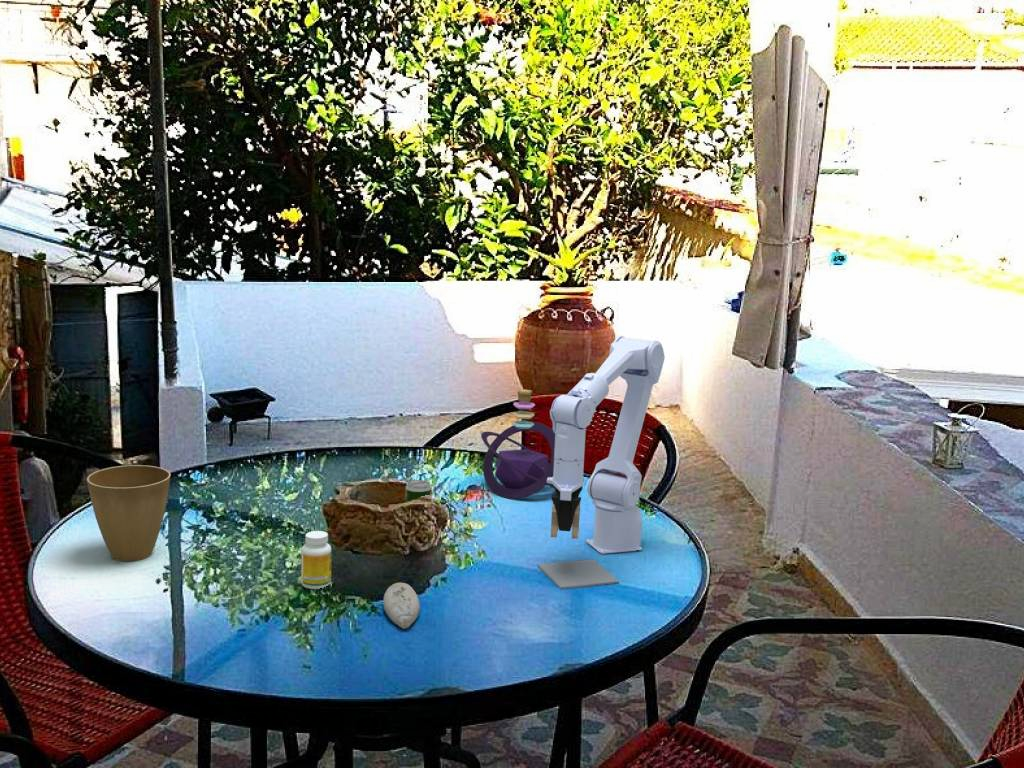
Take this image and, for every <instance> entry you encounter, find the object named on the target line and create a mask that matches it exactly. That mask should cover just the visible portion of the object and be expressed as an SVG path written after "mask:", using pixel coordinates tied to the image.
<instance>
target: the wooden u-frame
mask: <svg viewBox="0 0 1024 768" xmlns="http://www.w3.org/2000/svg"><path fill="white" fill-rule="evenodd" d="M551 505H552V506H551V519H550V520H551V521H550V522H551V523H550V538H558V531H559V527H558V520H557V513H556V509H555V506H554V503H553V502H552V504H551ZM580 514H581V502H580V503H579V505H578V506H577V508H576V511H575V514H574V518H573V523H572V527H571V538H570V539H572V540H574V539H576V540H578V539H579V532H580V531H579V530H580Z"/></svg>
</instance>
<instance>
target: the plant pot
mask: <svg viewBox="0 0 1024 768" xmlns="http://www.w3.org/2000/svg"><path fill="white" fill-rule="evenodd" d="M171 475H172V474H171V472H170V471H169V470H168V469H165V468H162V467H159V466H153V465H143V464H132V465H130V464H129V465H119V466H110V467H106V468H102V469H100V470H96V471H94V472H92V473H90V474H89V475H88V476H87V477H86V482H87V488H88V492H89V493H88V494H89V497H90V502H91V505H92V508H93V509H92V510H93V513H94V516H95V520H96V522H97V526H98V528H99V530H100V534H101V536H102V539H103V542H104V543H105V545H106V546H105V547H106V548H107V550H108V552H109V554H110V557H111V558H112V559H114V560H116V561H119V562H135V561H140V560H143V559H146V558H148V557H150V556H151V555H152V554H153V551H154V549H155V546H156V543H157V541H158V537H159V536H160V535H159V534H160V531H161V528H162V524H163V521H164V516H165V512H166V507H167V503H168V496H169V490H170V482H171Z"/></svg>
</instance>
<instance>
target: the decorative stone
mask: <svg viewBox="0 0 1024 768" xmlns="http://www.w3.org/2000/svg"><path fill="white" fill-rule="evenodd" d="M382 599H383V602H382V603H383V609H384V611H385V614H386V615H387V616H388V618H389V619H390V620H391V621H392V622H393V623H394V624H395V625H397V626H398V627H400V628H402V629H403V630H405V629H408V628H409V627H410V626H411V625H412V624H413V623H414V622H415V621H416V620H417V618H418V616H419V612H420V599H419V597H418V595H417V593H416V591H415V590H414V589H413V587H412V586H410V584H408V583H405V582H395V583H393V584H392V585H390V586H389V587H388V588H387V589H386V591H385V593H384V595H383V598H382Z"/></svg>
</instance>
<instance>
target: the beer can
mask: <svg viewBox="0 0 1024 768" xmlns="http://www.w3.org/2000/svg"><path fill="white" fill-rule="evenodd" d="M404 493H405V495H404V497H405V499H404V500H406V501H409V500H413V499H417V498H419V497H421V496H425V495H430V496H431V497H432V486H431V482H430V481H427V480H423V479H421V480H420V479H415V480H413V479H412V480H409V481H407V482H406V486H405V492H404Z"/></svg>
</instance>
